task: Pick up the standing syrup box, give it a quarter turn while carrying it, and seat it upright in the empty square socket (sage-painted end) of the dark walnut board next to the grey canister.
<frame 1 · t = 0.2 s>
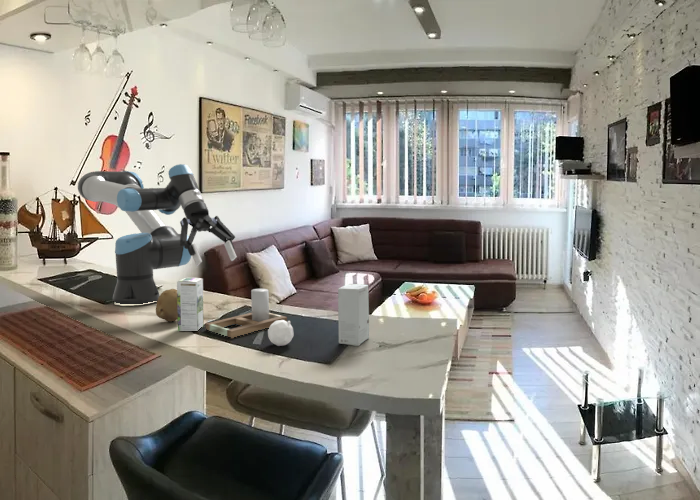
hand: (217, 261, 179), 16 cm above the breakfast bar, tool tilted 35°, fingers open, 13 cm apart
syrup box: (191, 330, 156), on the breakfast bar
grey canister: (260, 323, 163), resting in socket board
ornament: (280, 345, 142), on the breakfast bar
brown potato: (173, 322, 164), on the breakfast bar
skincare box: (353, 341, 146), on the breakfast bar
socket board: (247, 326, 159), on the breakfast bar
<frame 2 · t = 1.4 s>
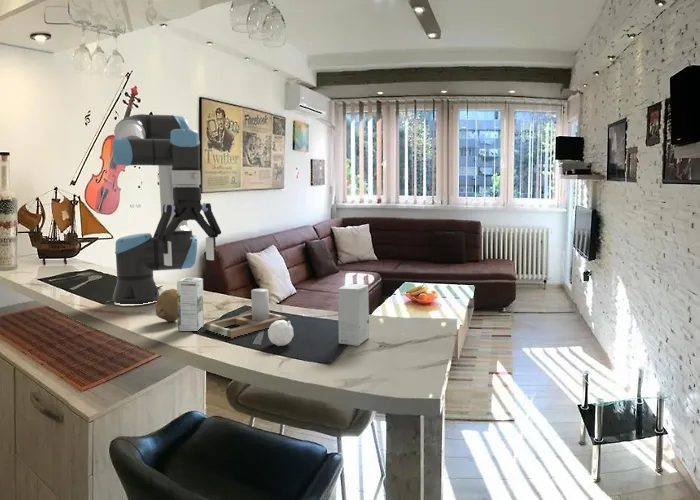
hand: (189, 262, 154), 19 cm above the breakfast bar, tool pointing down, fingers open, 13 cm apart
nothing on the breakfast bar moved.
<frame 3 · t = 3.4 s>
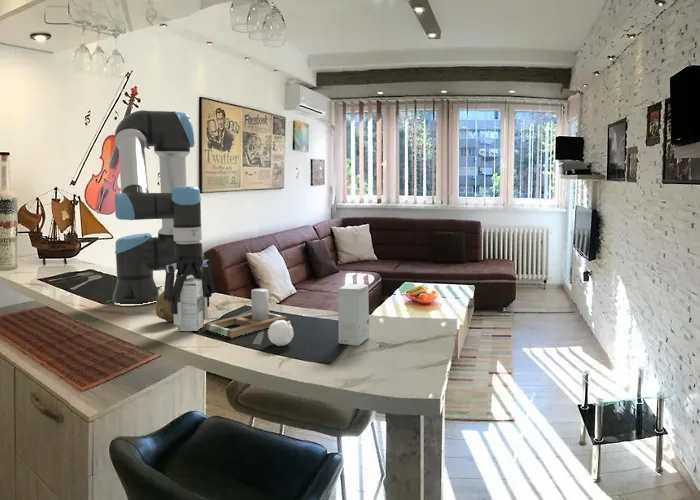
hand: (191, 321, 156), 2 cm above the breakfast bar, tool pointing down, fingers closed on syrup box, 8 cm apart
syrup box: (191, 329, 157), on the breakfast bar, touching gripper
everything else where it was.
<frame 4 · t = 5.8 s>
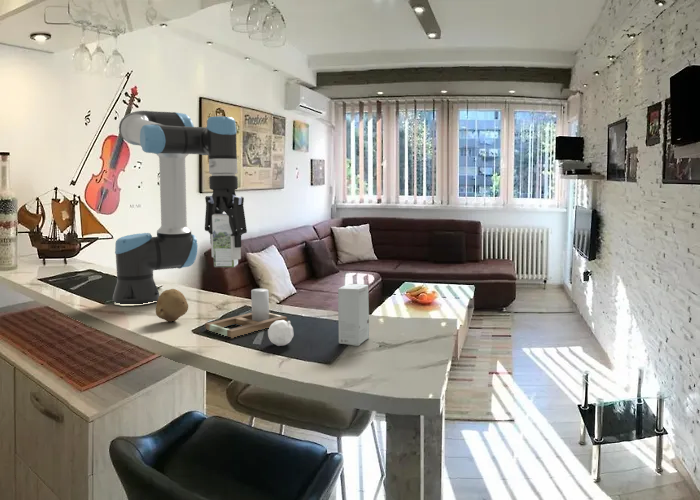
hand: (226, 258, 152), 21 cm above the breakfast bar, tool pointing down, fingers closed on syrup box, 8 cm apart
syrup box: (226, 266, 152), point 18 cm above the breakfast bar, touching gripper
everything else where it was.
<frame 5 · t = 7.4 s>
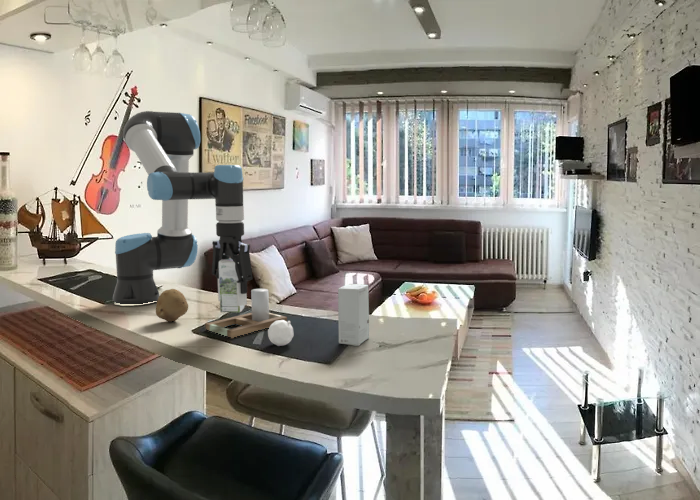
hand: (232, 302, 154), 8 cm above the breakfast bar, tool pointing down, fingers closed on syrup box, 8 cm apart
syrup box: (232, 311, 154), point 6 cm above the breakfast bar, touching gripper
everything else where it was.
when the fingers open (5 cm above the breakfast bar, at t = 8.5 s): syrup box drops 2 cm, resting in socket board.
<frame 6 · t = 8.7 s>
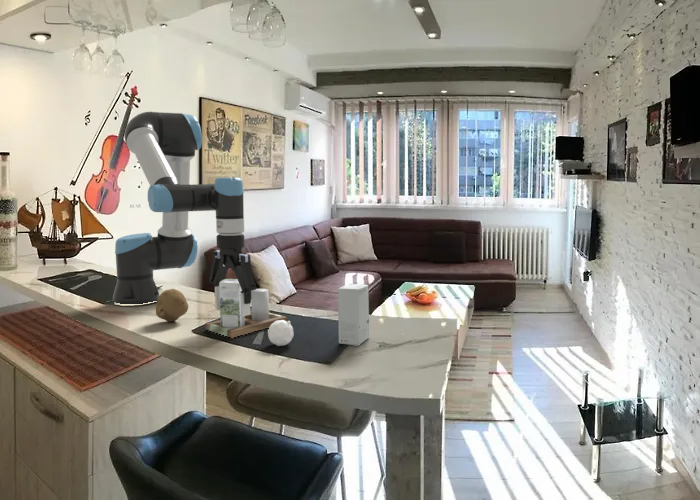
hand: (232, 311, 154), 5 cm above the breakfast bar, tool pointing down, fingers open, 11 cm apart
syrup box: (233, 331, 155), resting in socket board
everything else where it was.
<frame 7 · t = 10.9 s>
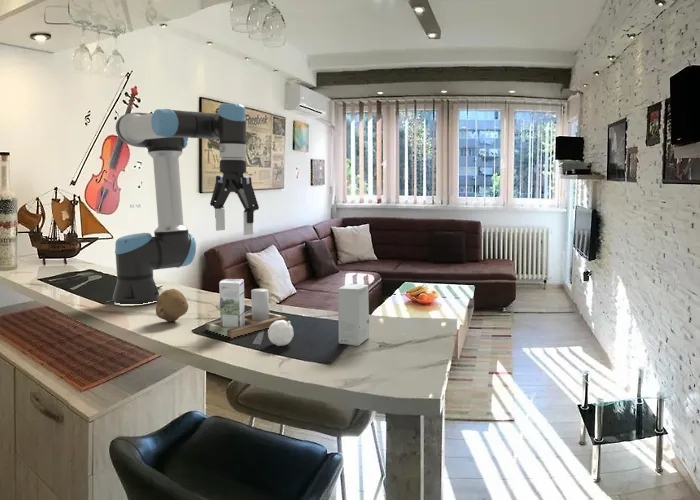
hand: (234, 232, 162), 27 cm above the breakfast bar, tool pointing down, fingers open, 13 cm apart
nothing on the breakfast bar moved.
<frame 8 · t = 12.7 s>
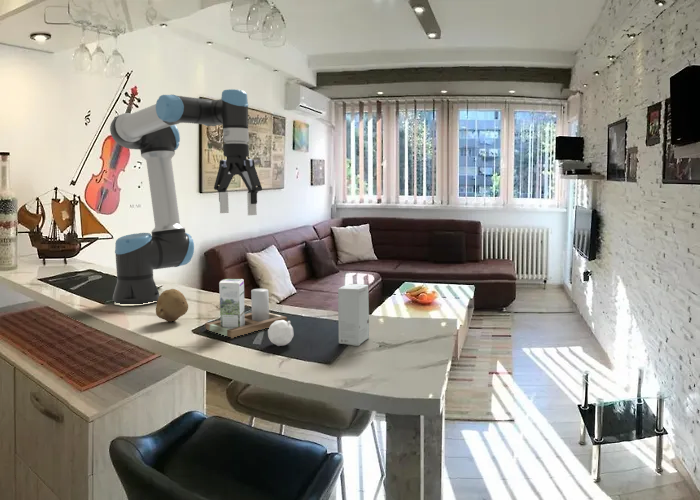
hand: (237, 214, 168), 32 cm above the breakfast bar, tool pointing down, fingers open, 13 cm apart
nothing on the breakfast bar moved.
at the end: syrup box inside the target area (0.0 cm from its centre), resting in socket board; syrup box tilted 0°; the gripper is holding nothing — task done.
